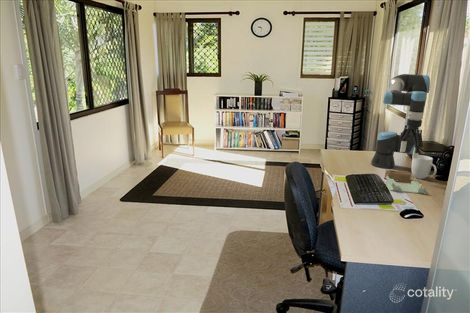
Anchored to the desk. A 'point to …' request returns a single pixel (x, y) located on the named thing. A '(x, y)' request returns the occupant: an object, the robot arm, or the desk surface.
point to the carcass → (405, 186)
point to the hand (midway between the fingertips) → (408, 155)
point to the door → (398, 175)
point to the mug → (422, 167)
